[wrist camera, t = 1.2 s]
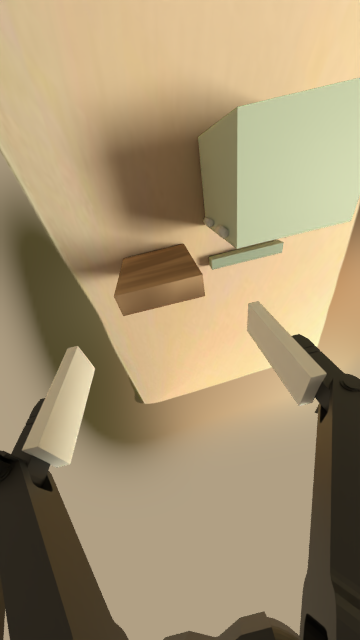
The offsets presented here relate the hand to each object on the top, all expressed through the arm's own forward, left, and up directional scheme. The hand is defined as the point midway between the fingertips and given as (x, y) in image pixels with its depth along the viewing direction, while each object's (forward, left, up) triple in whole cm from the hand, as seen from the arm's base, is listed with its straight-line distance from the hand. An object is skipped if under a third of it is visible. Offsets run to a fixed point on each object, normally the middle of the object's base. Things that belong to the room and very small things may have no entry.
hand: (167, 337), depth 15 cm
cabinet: (-5, +13, -17) cm, 22 cm away
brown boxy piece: (0, 0, -17) cm, 17 cm away
